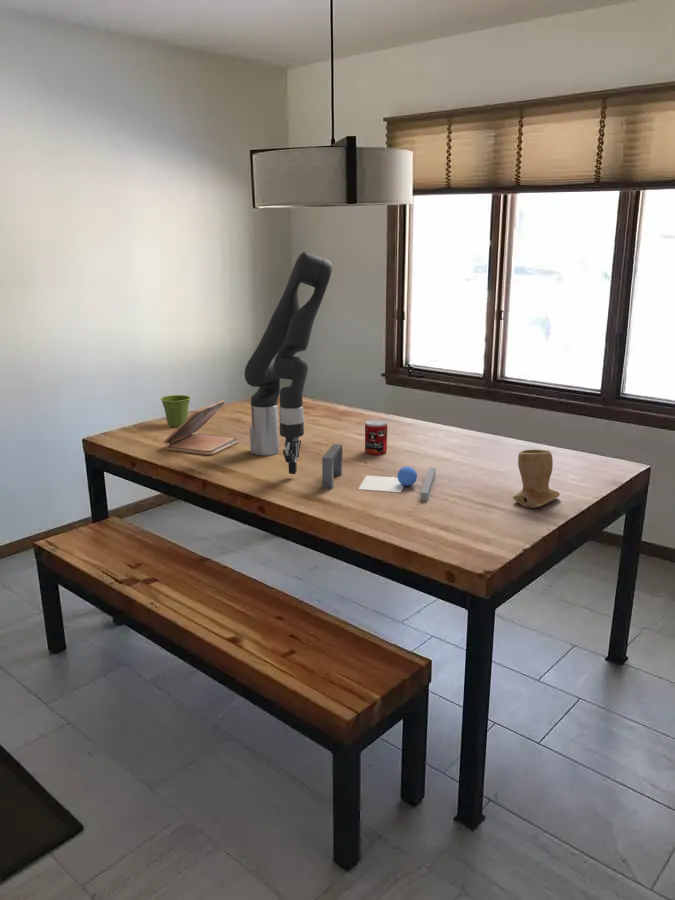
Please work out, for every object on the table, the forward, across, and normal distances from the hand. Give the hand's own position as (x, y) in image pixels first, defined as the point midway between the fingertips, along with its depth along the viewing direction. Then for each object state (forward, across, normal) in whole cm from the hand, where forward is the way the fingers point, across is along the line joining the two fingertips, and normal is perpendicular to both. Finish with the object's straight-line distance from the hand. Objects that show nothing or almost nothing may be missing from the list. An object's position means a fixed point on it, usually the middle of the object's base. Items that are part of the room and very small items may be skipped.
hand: (292, 473), depth 240 cm
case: (+2, -28, -42) cm, 51 cm away
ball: (-2, 0, +36) cm, 36 cm away
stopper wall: (+2, 0, +43) cm, 43 cm away
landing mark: (+2, 0, +29) cm, 29 cm away
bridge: (+2, 0, +13) cm, 13 cm away
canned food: (+2, -33, +21) cm, 39 cm away
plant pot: (+2, -53, -63) cm, 82 cm away
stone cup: (+2, +5, +74) cm, 74 cm away
